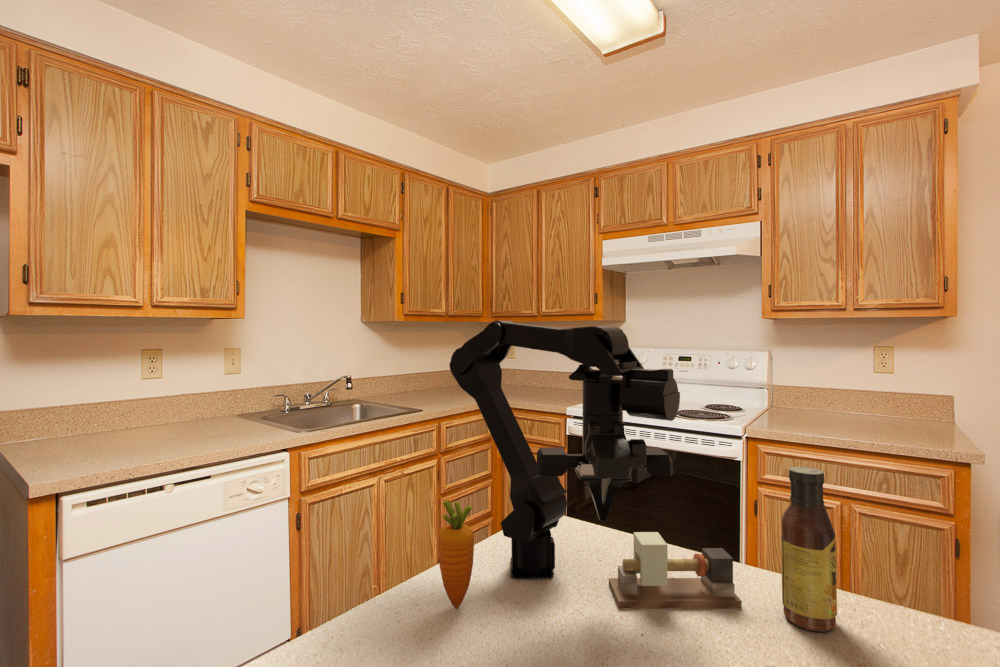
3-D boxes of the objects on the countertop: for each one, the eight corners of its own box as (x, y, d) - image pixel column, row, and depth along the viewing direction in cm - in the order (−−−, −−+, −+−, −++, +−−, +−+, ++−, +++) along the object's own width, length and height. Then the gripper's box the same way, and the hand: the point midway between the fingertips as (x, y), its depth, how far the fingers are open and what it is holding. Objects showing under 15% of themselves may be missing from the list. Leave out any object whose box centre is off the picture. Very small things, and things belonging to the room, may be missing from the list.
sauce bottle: (846, 637, 63) (846, 479, 62) (791, 631, 64) (791, 476, 64) (823, 609, 69) (823, 465, 69) (774, 604, 70) (774, 463, 70)
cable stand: (618, 608, 69) (618, 563, 69) (608, 584, 76) (608, 543, 76) (741, 608, 69) (741, 563, 69) (721, 584, 76) (721, 543, 76)
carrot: (481, 607, 70) (481, 500, 70) (455, 622, 66) (454, 509, 66) (457, 594, 73) (457, 492, 73) (431, 608, 70) (430, 501, 70)
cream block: (641, 585, 70) (641, 544, 70) (633, 570, 75) (633, 532, 75) (667, 585, 70) (667, 544, 70) (657, 570, 75) (657, 532, 75)
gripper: (542, 423, 64) (542, 544, 65) (687, 423, 64) (687, 544, 65) (536, 409, 76) (536, 512, 76) (660, 409, 75) (660, 512, 76)
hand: (602, 520), depth 73 cm, fingers closed
